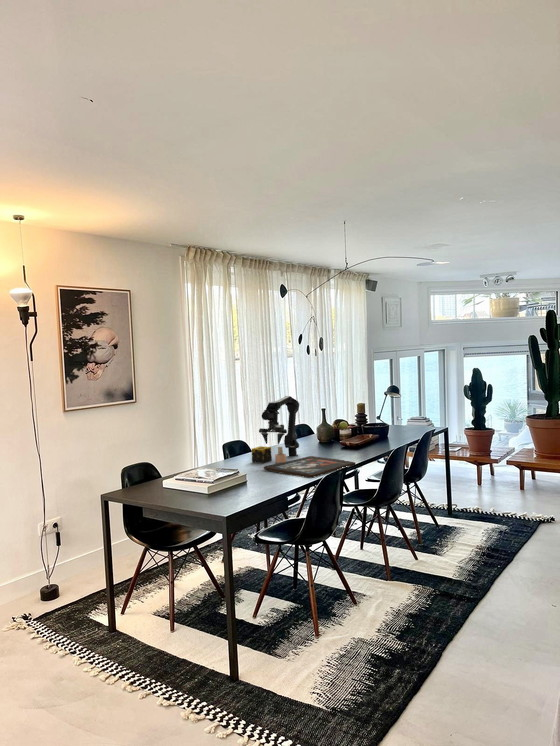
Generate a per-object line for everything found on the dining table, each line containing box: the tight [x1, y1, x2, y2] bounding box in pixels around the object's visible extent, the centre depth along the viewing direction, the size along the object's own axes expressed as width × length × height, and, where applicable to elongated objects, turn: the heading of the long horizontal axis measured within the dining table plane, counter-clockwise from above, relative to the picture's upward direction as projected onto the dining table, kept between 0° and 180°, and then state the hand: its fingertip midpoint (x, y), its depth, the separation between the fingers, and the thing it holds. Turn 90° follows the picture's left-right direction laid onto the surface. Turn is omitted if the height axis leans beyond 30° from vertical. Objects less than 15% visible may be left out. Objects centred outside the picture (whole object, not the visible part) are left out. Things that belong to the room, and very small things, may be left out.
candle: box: [251, 445, 273, 464], centre depth 378 cm, size 10×10×10 cm
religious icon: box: [263, 455, 356, 478], centre depth 350 cm, size 40×45×3 cm
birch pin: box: [277, 446, 284, 455], centre depth 372 cm, size 3×3×10 cm
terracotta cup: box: [274, 453, 287, 464], centre depth 372 cm, size 7×7×6 cm
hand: (272, 444), depth 371 cm, fingers open, 9 cm apart
